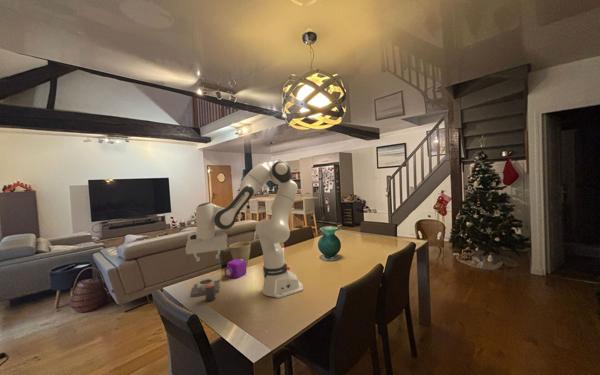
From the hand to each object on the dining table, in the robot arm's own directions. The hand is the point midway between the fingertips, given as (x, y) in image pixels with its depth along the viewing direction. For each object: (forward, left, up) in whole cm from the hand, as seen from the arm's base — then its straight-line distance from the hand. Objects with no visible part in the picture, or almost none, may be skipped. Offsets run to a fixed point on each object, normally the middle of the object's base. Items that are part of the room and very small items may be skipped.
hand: (207, 259), depth 128 cm
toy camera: (-14, -27, -21) cm, 37 cm away
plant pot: (-19, -44, -21) cm, 52 cm away
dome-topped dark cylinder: (0, 0, -21) cm, 21 cm away
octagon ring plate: (+3, -14, -21) cm, 25 cm away
